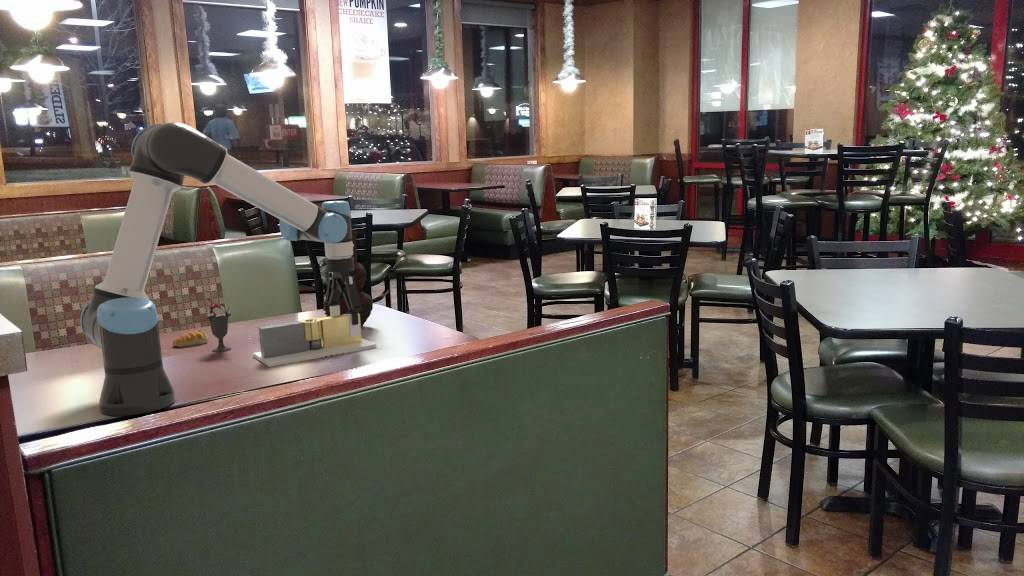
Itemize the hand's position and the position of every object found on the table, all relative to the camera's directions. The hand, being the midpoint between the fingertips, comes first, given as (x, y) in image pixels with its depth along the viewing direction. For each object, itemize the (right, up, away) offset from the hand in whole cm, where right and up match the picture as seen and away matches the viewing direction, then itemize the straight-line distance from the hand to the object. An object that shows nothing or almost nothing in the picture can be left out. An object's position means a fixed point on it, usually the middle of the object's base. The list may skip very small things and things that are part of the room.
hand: (345, 332), depth 222 cm
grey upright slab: (-13, -5, -8) cm, 16 cm away
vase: (-4, 0, +24) cm, 25 cm away
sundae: (-36, -5, +2) cm, 36 cm away
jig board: (-7, -5, -4) cm, 10 cm away
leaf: (-3, -4, -2) cm, 5 cm away
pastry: (-48, -4, +12) cm, 49 cm away
